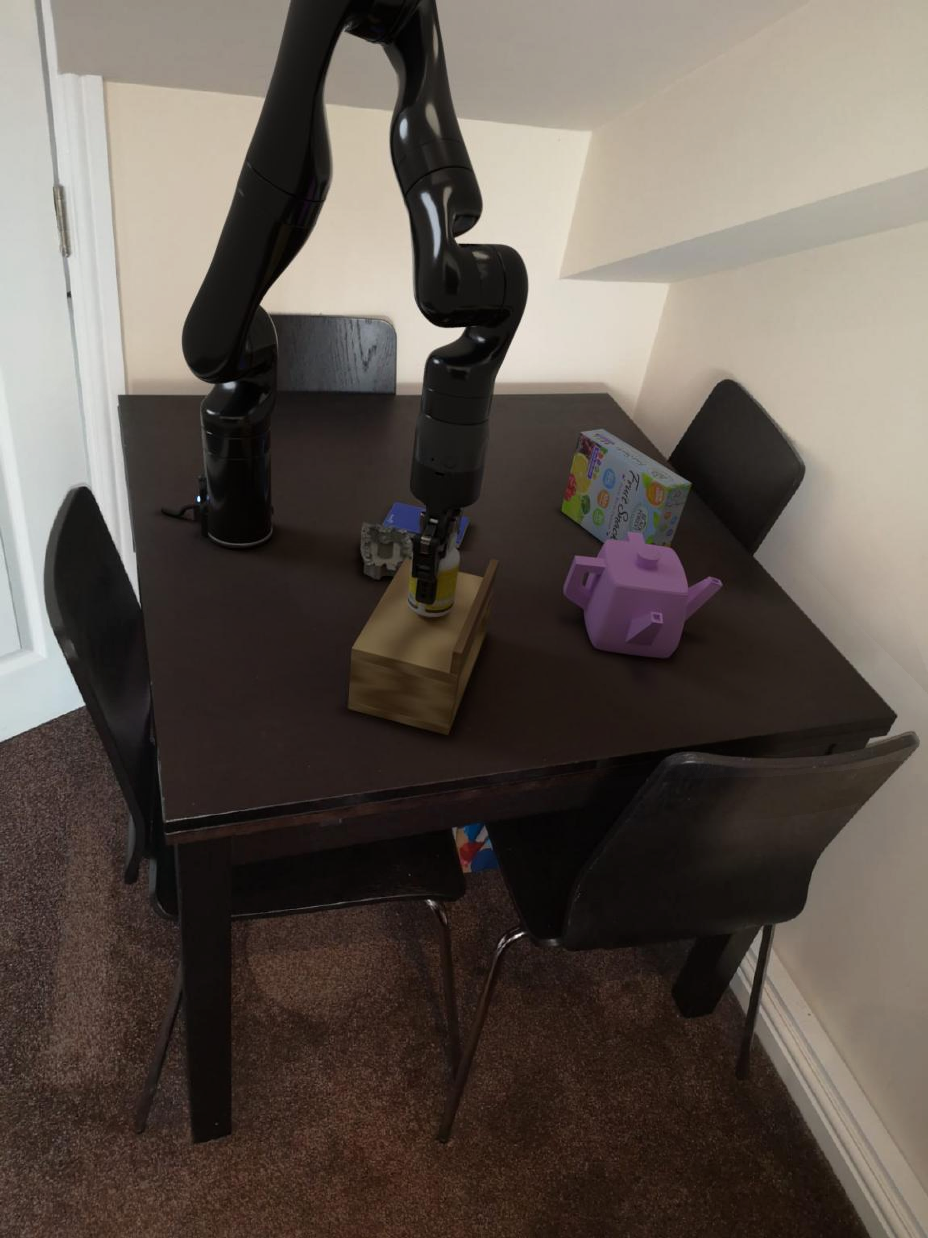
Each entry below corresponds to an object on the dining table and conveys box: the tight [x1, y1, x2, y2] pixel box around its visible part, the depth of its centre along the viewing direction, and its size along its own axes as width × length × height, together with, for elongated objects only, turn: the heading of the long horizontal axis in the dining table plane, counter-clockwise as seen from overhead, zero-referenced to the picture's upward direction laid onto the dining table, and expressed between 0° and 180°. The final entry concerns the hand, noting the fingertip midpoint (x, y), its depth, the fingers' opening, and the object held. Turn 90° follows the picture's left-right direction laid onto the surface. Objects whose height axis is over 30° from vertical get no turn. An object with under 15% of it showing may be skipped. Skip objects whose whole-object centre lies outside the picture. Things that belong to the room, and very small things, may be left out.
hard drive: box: [381, 502, 470, 549], centre depth 127 cm, size 2×8×12 cm
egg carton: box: [360, 521, 413, 580], centre depth 117 cm, size 11×8×4 cm
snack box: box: [561, 428, 693, 548], centre depth 128 cm, size 21×6×15 cm, turn 33°
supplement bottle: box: [408, 531, 461, 617], centre depth 90 cm, size 5×5×10 cm
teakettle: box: [562, 531, 723, 659], centre depth 109 cm, size 17×17×12 cm
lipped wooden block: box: [347, 558, 500, 736], centre depth 95 cm, size 12×20×12 cm, turn 167°
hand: (431, 587), depth 92 cm, fingers closed on supplement bottle, 5 cm apart
